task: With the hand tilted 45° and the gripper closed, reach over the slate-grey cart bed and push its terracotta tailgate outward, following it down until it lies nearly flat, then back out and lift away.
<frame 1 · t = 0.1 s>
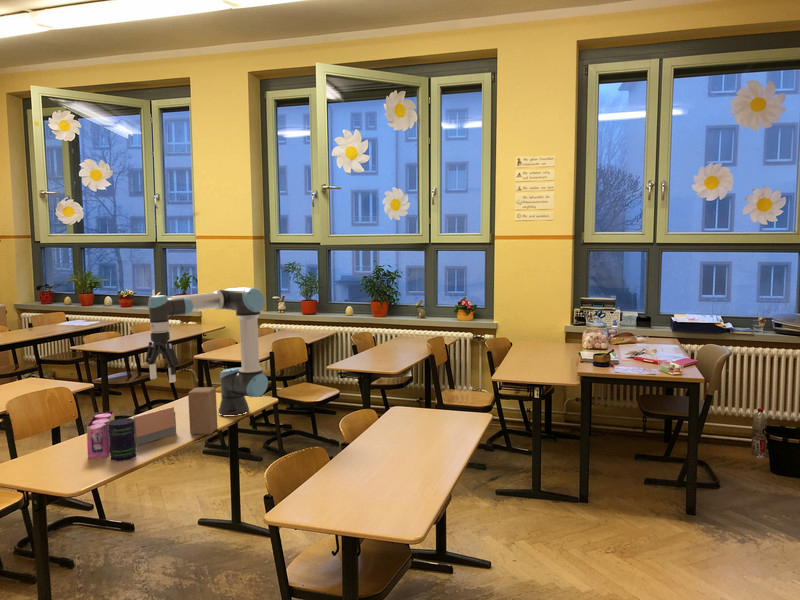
hand: (162, 380, 266), 28 cm above the table, tool pointing down, fingers open, 13 cm apart
storage jar: (123, 457, 252), on the table
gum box: (102, 450, 263), on the table
tailgate: (154, 421, 273), point 9 cm above the table, hinge at 0.0°
cart bed: (148, 438, 277), on the table
wooden block: (204, 432, 285), on the table
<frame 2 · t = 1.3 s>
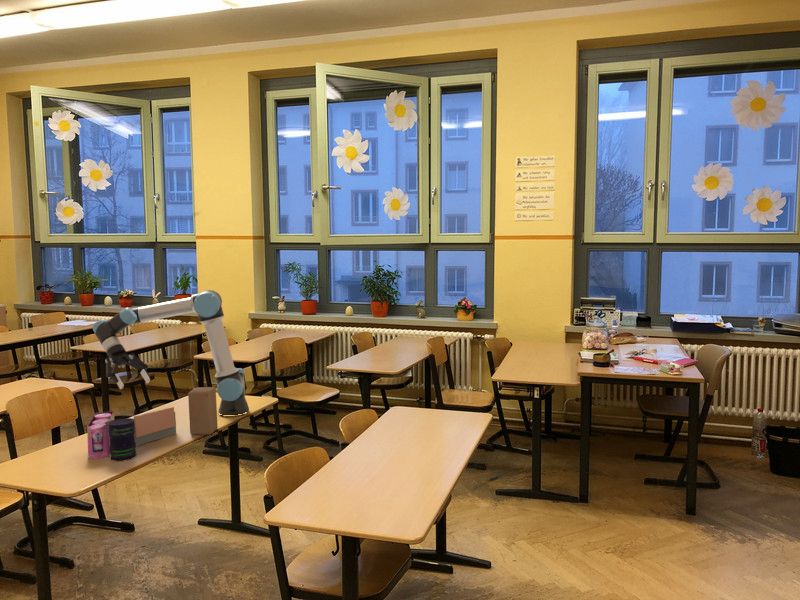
hand: (135, 384, 279), 24 cm above the table, tool tilted 45°, fingers open, 12 cm apart
nothing on the table moved.
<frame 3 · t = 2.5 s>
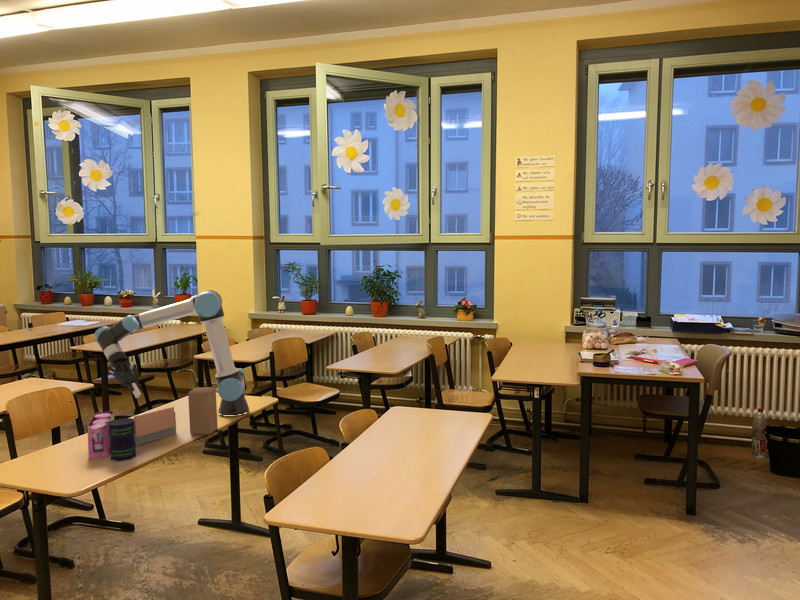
hand: (138, 396, 277), 19 cm above the table, tool tilted 45°, fingers closed
nothing on the table moved.
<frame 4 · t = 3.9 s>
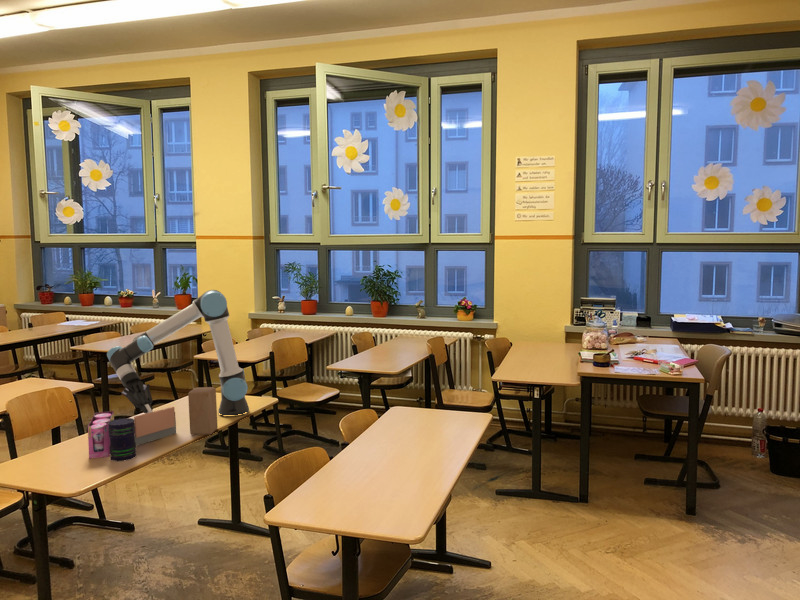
hand: (152, 417, 273), 10 cm above the table, tool tilted 45°, fingers closed
tailgate: (155, 421, 273), point 8 cm above the table, hinge at 2.7°, touching gripper
everything else where it was.
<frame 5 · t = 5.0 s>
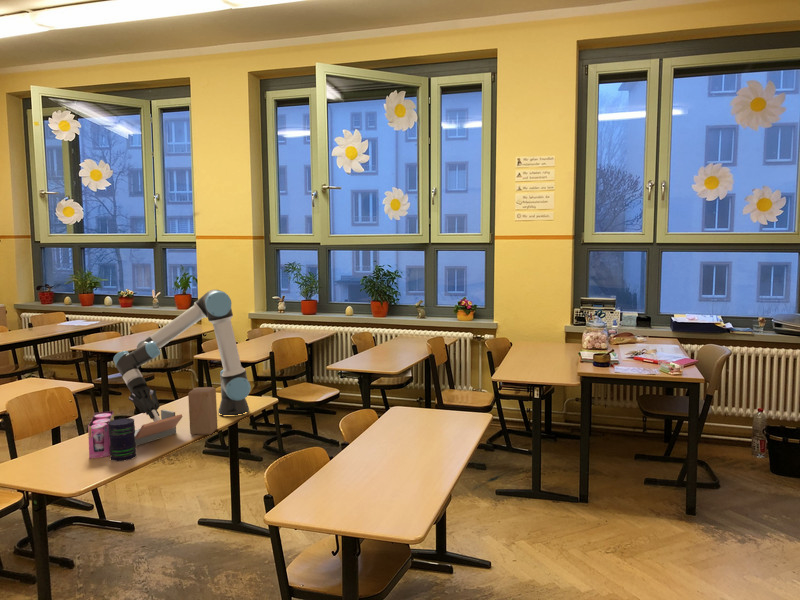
hand: (158, 423, 271), 8 cm above the table, tool tilted 45°, fingers closed
tailgate: (159, 426, 271), point 7 cm above the table, hinge at 45.3°, touching gripper
everything else where it was.
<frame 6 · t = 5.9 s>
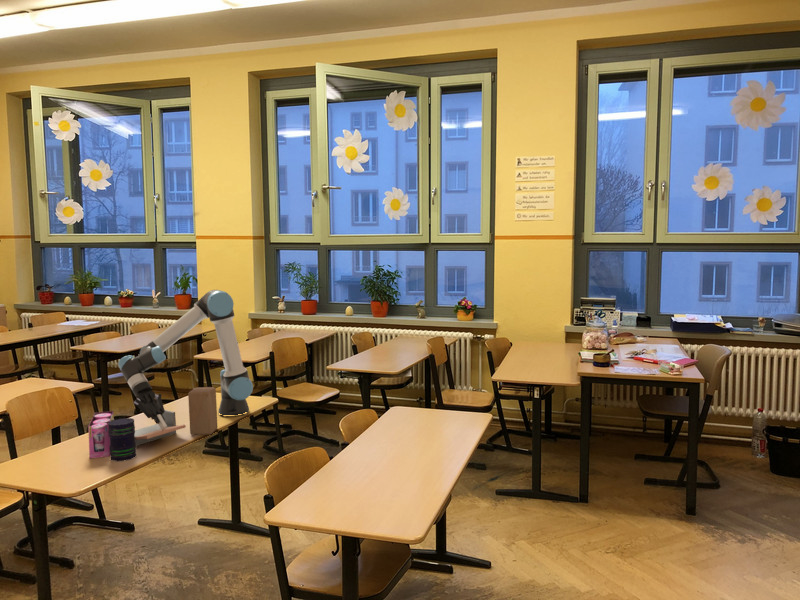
hand: (164, 428, 269), 7 cm above the table, tool tilted 45°, fingers closed
tailgate: (160, 432, 271), point 4 cm above the table, hinge at 78.1°, touching gripper
everything else where it was.
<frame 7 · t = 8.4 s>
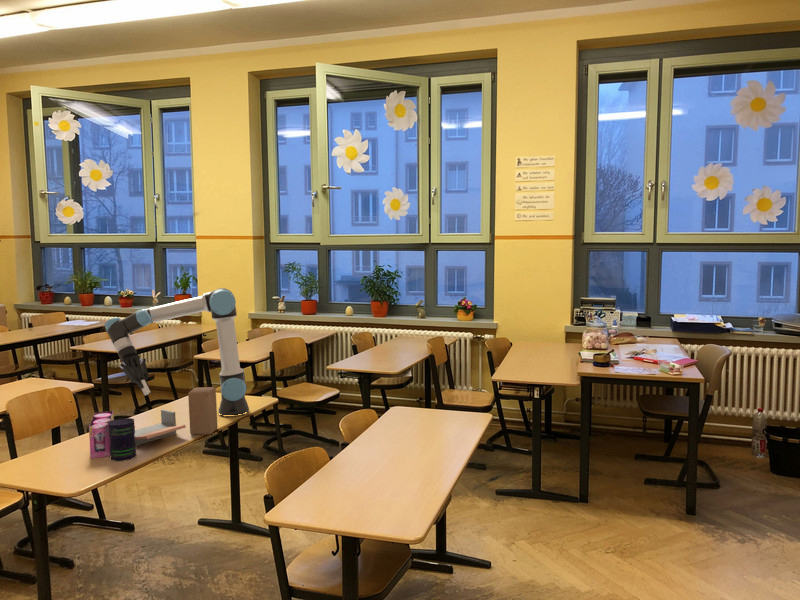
hand: (147, 393, 278), 20 cm above the table, tool tilted 35°, fingers closed
tailgate: (160, 432, 271), point 4 cm above the table, hinge at 78.4°
everything else where it was.
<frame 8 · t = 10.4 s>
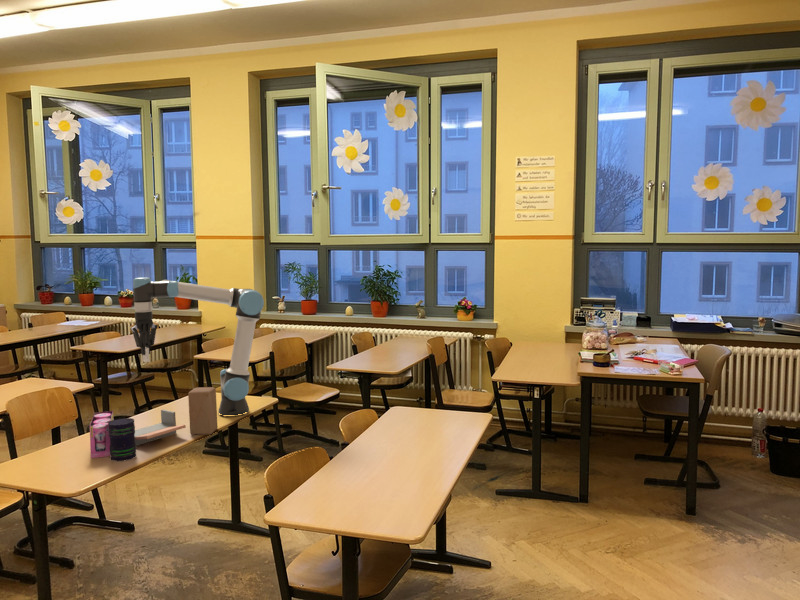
hand: (146, 361, 287), 32 cm above the table, tool pointing down, fingers closed
nothing on the table moved.
at the end: tailgate at +78° (first picture: +0°); the gripper is holding nothing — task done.
